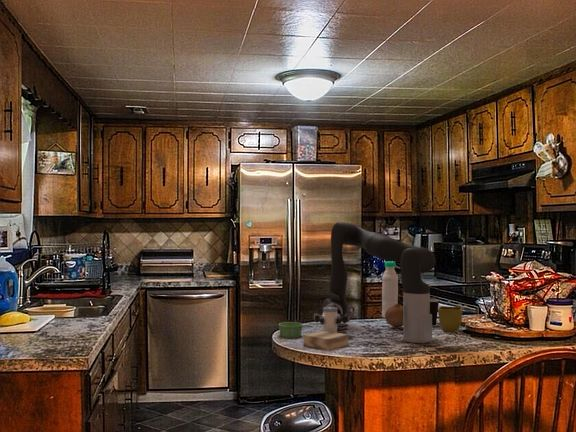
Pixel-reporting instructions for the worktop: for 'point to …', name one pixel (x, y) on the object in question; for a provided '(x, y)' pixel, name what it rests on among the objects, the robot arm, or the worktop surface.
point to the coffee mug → (434, 310)
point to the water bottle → (389, 287)
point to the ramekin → (290, 329)
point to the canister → (330, 319)
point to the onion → (395, 315)
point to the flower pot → (450, 318)
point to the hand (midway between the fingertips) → (329, 321)
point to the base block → (325, 340)
